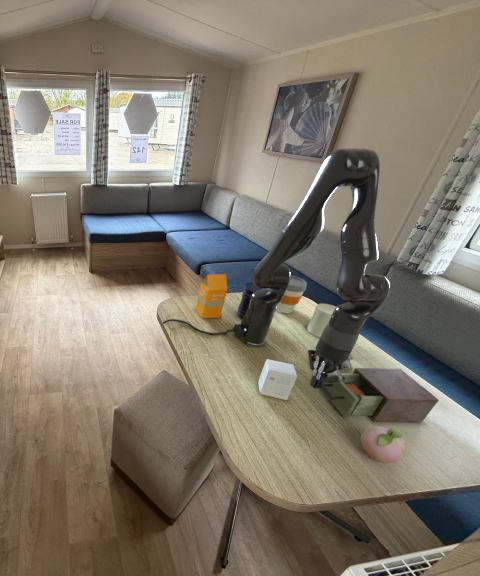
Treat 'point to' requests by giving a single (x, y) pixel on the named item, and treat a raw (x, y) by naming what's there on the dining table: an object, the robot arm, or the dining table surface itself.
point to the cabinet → (398, 395)
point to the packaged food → (347, 363)
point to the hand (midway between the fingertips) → (314, 386)
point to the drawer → (353, 396)
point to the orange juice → (212, 296)
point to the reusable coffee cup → (292, 295)
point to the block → (355, 390)
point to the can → (320, 319)
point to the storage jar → (246, 299)
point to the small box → (277, 379)
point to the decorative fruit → (383, 444)
